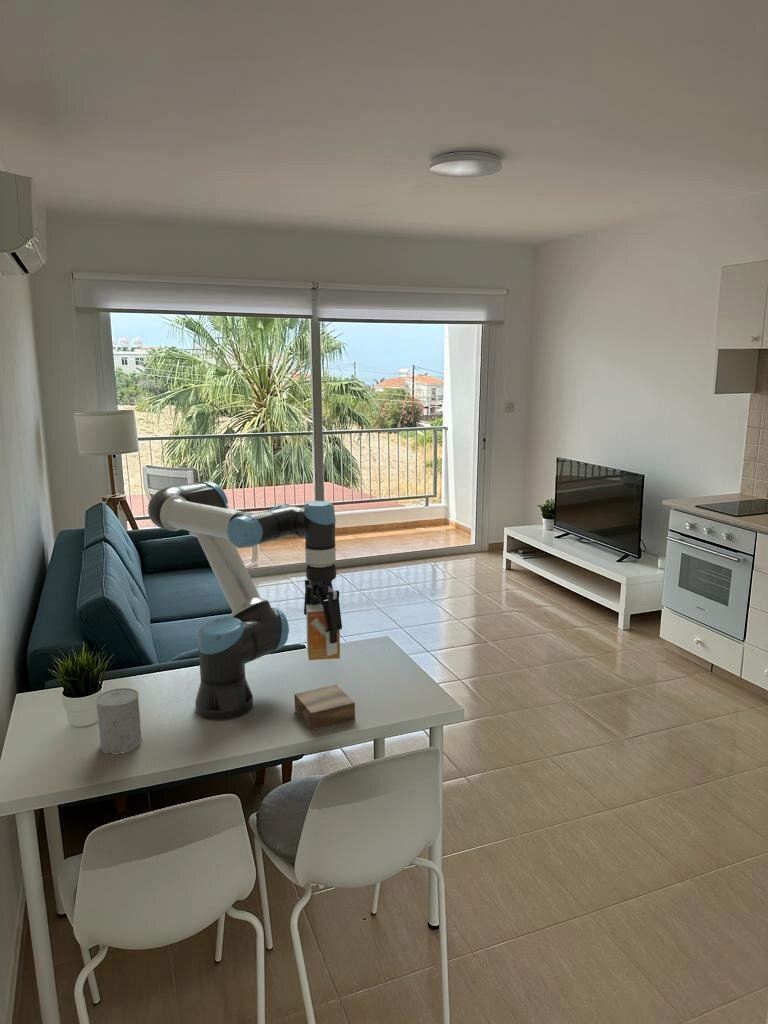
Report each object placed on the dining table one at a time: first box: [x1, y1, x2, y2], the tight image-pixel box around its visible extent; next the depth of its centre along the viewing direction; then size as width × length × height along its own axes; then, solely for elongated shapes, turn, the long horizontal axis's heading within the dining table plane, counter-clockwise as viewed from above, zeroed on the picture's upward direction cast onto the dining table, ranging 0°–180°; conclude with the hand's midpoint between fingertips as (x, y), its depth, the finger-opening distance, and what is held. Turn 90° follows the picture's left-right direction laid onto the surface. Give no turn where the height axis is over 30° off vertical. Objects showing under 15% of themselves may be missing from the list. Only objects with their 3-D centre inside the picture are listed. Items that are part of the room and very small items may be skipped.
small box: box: [305, 604, 341, 661], centre depth 186 cm, size 8×6×13 cm
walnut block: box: [294, 684, 356, 731], centre depth 190 cm, size 12×12×5 cm
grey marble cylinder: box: [95, 687, 143, 755], centre depth 175 cm, size 10×10×12 cm
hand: (323, 648), depth 187 cm, fingers closed on small box, 8 cm apart
